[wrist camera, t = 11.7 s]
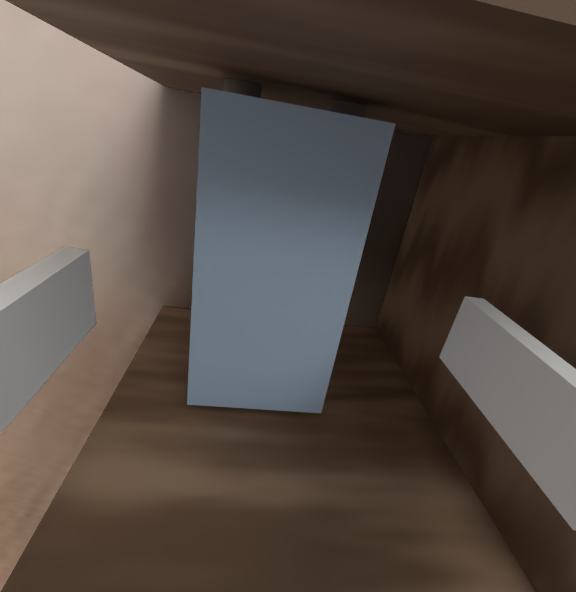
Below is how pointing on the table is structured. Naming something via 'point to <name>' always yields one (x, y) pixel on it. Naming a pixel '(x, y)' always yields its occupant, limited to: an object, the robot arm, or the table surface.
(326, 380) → the shelf board
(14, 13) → the table surface
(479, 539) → the bookcase frame
